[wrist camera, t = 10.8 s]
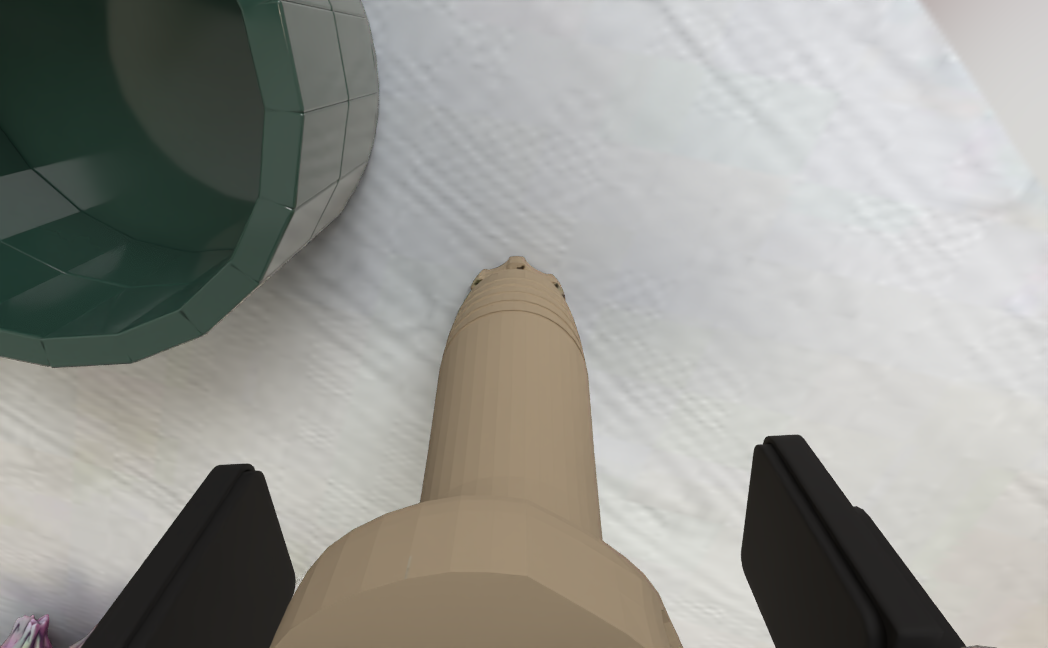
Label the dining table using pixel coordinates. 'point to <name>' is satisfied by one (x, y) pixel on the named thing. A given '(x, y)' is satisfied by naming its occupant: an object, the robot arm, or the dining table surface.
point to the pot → (167, 162)
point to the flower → (33, 634)
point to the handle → (491, 506)
